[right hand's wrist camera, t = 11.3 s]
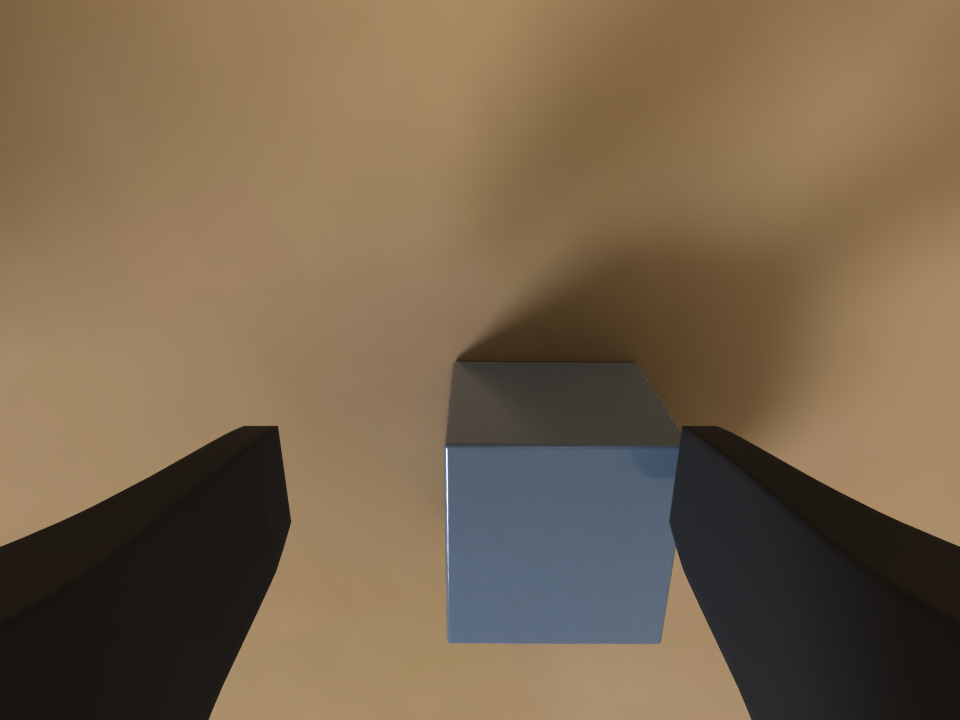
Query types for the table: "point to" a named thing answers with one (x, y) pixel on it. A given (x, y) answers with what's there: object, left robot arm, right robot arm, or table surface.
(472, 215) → the table surface
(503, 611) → the block
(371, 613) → the table surface
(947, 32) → the table surface
